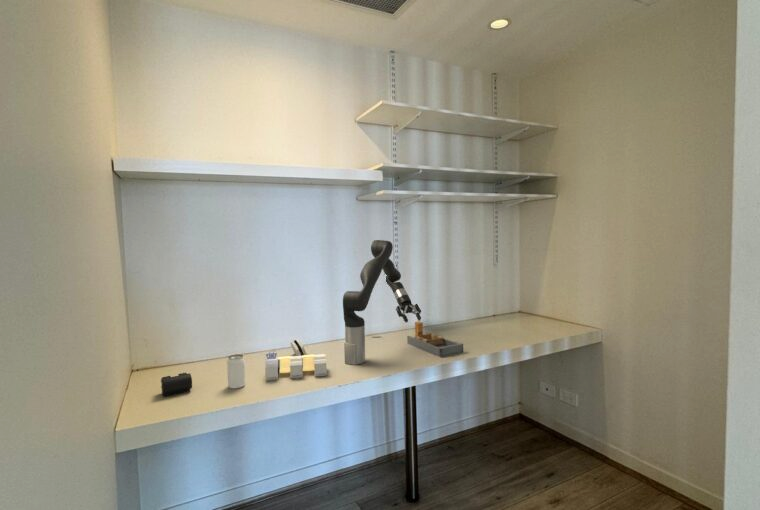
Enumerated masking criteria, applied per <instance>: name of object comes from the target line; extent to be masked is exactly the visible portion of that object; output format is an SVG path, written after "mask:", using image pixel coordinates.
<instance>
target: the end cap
mask: <svg viewBox="0 0 760 510" xmlns="http://www.w3.org/2000/svg"><path fill="white" fill-rule="evenodd" d="M160 382H161V386H160V388H161V395H162V396H163V397H166V396H171V395H176V394H181V393H185V392H188V391H189V392H190V391H191V390H192V389H193V377H192V374H191V373H187V372H182V373H178V374H177V375H176V376H171V375H167V376H163V377H161V379H160Z"/></svg>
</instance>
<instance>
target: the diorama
mask: <svg viewBox="0 0 760 510" xmlns="http://www.w3.org/2000/svg"><path fill="white" fill-rule="evenodd" d="M277 355H278V353H277V352H276V349H275V348H274V349H272V350H271V351H270V352H268V353H266V354H265V356H266V358H265V359H264V360H265V363H264V364H265V368H264V369H265V371H264V373H265V381H274V380H275V381H276V380H279V374H285V373H289V374H290V379H298V378H303V376H304V375H303V372H310V371H314V377H327V371H328V370H327V356H326V355H327V354H326V353H318V354H308V355H302V356H296V355H289V356H279V357H278V356H277Z"/></svg>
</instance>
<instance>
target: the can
mask: <svg viewBox="0 0 760 510" xmlns="http://www.w3.org/2000/svg"><path fill="white" fill-rule="evenodd" d="M227 358H228V359H227V361H226V362H227V363H226V365H227V367H226V368H227V386H228V388H229V389H231V390H233V389H234V390H238V389H241V388H243V387H245V385H246V367H245V365H246V364H245V358H244V355H243V354H232V355H229V356H228V357H227Z"/></svg>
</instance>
